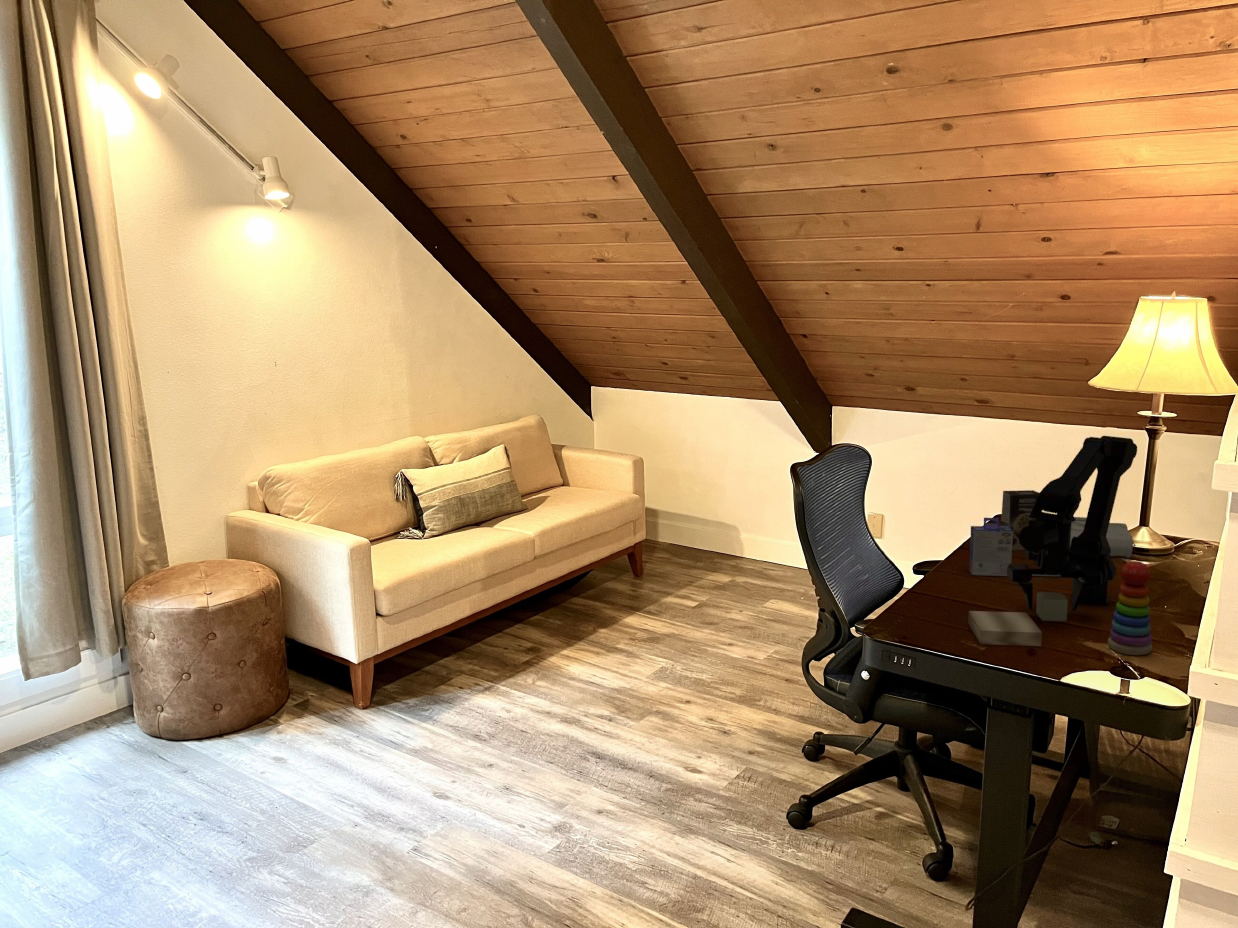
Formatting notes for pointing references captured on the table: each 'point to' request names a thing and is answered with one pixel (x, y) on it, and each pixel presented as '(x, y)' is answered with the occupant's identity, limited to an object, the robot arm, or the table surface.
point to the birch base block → (1004, 628)
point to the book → (1109, 537)
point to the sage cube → (1051, 606)
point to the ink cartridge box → (990, 549)
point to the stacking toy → (1132, 612)
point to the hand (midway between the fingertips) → (1051, 610)
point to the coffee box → (1017, 512)
